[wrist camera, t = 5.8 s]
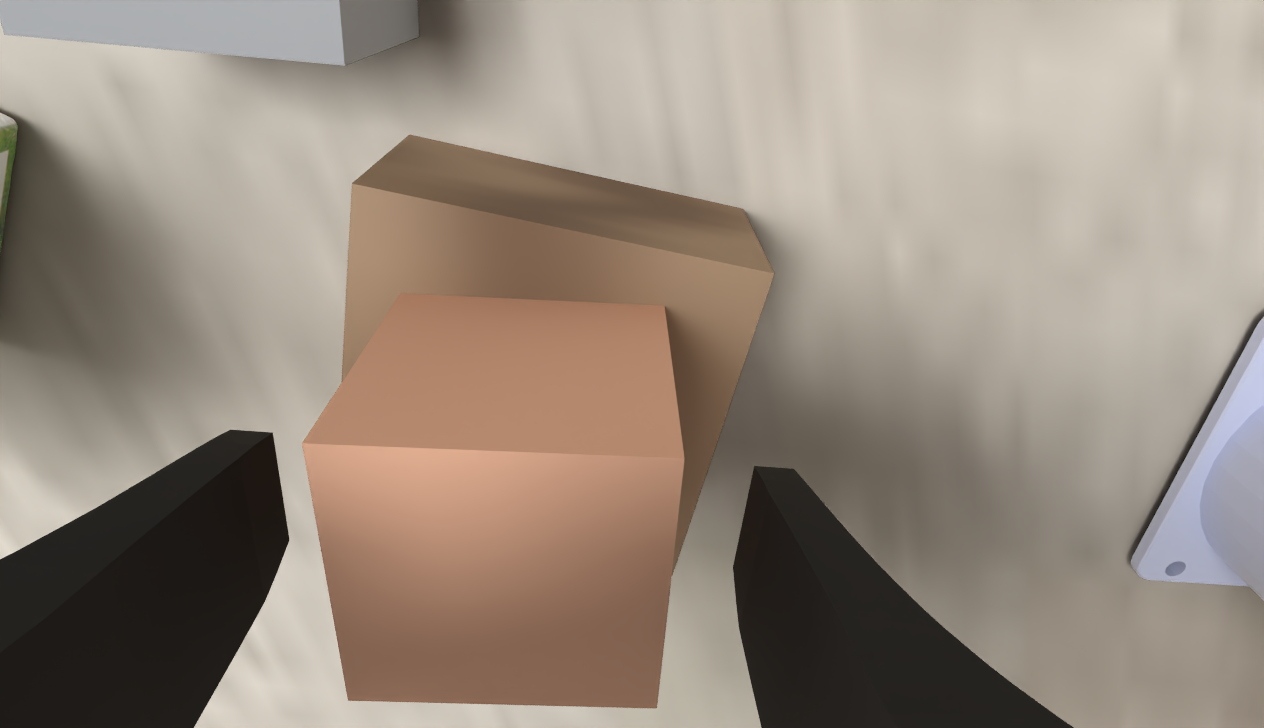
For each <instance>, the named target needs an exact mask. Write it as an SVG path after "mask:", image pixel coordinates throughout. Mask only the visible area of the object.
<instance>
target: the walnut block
mask: <svg viewBox="0 0 1264 728" xmlns="http://www.w3.org/2000/svg"><path fill="white" fill-rule="evenodd" d="M773 276H774V272H773V270H772V268H771V266H770V263H769V261H768V259H767V257H766V255H765V253H764V251H763V249H762V247H761V245H760V243H759V241H758V239H757V237H756V235H755V233H754V231H753V228H752V226H751V224H750V222H749V220H748V218H747V216H746V214H745V212H744V210H743V209H741V208H737V207H732V206H728V205H723V204H719V203H714V202H710V201H705V200H701V199H696V198H692V197H687V196H683V195H678V194H674V193H669V192H665V191H660V190H656V189H651V188H647V187H642V186H638V185H633V184H629V183H624V182H620V181H615V180H611V179H606V178H602V177H597V176H593V175H588V174H584V173H579V172H575V171H570V170H566V169H561V168H557V167H552V166H548V165H543V164H539V163H534V162H530V161H525V160H521V159H516V158H512V157H507V156H503V155H498V154H494V153H489V152H485V151H480V150H476V149H472V148H467V147H463V146H458V145H454V144H449V143H445V142H440V141H436V140H431V139H427V138H422V137H418V136H413V135H409V136H407V137H406V138H405V139H404V140H403V141H402V142H400V143H399V144H398V145H397V146H396V147H394V148H393V149H392V150H391V151H390V152H389V153H387V154H386V155H385V156H384V157H383V158H381V159H380V160H379V161H378V162H377V163H376V164H374V165H373V166H372V167H371V168H370V169H369V170H367V171H366V172H365V173H364V174H363V175H361V176H360V177H359V178H358V179H357V180H356V181H354V182H353V183H352V193H351V212H350V231H349V250H348V269H347V288H346V307H345V327H344V346H343V365H342V382H343V380H344V379H345V377H346V376H347V374H348V373H349V371H350V369H351V368H352V366H353V365H354V363H355V362H356V360H357V359H358V357H359V356H360V354H361V353H362V351H363V350H364V348H365V347H366V345H367V343H368V342H369V340H370V339H371V337H372V336H373V334H374V333H375V331H376V330H377V328H378V327H379V325H380V324H381V322H382V321H383V319H384V317H385V316H386V314H387V313H388V311H389V310H390V308H391V307H392V305H393V304H394V302H395V301H396V299H397V298H398V296H399V295H400V293H405V294H426V295H447V296H468V297H489V298H511V299H532V300H553V301H574V302H595V303H616V304H637V305H658V306H665V313H666V321H667V328H668V336H669V344H670V351H671V359H672V366H673V374H674V382H675V389H676V397H677V405H678V412H679V420H680V427H681V435H682V443H683V450H684V458H685V459H684V468H683V477H682V486H681V495H680V504H679V513H678V522H677V531H676V540H675V549H674V558H673V567H672V575H673V572H674V569H675V566H676V563H677V560H678V557H679V554H680V551H681V548H682V545H683V542H684V539H685V536H686V533H687V530H688V527H689V524H690V522H691V519H692V516H693V513H694V510H695V507H696V504H697V501H698V498H699V495H700V492H701V489H702V486H703V483H704V480H705V477H706V474H707V471H708V468H709V465H710V462H711V460H712V457H713V454H714V451H715V448H716V445H717V442H718V439H719V436H720V433H721V430H722V427H723V424H724V421H725V418H726V415H727V412H728V409H729V406H730V403H731V400H732V398H733V395H734V392H735V389H736V386H737V383H738V380H739V377H740V374H741V371H742V368H743V365H744V362H745V359H746V356H747V353H748V350H749V347H750V344H751V341H752V338H753V336H754V333H755V330H756V327H757V324H758V321H759V318H760V315H761V312H762V309H763V306H764V303H765V300H766V297H767V294H768V291H769V288H770V285H771V282H772V279H773Z"/></svg>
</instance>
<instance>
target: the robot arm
mask: <svg viewBox="0 0 1264 728" xmlns="http://www.w3.org/2000/svg"><path fill="white" fill-rule="evenodd" d="M288 542H289V535H288V528H287V522H286V515H285V509H284V503H283V496H282V490H281V483H280V477H279V471H278V464H277V458H276V451H275V445H274V438H273V433H269V432H254V431H240V430H229V431H227V432H225V433H223V434H221V435H219V436H217V437H216V438H214V439H212V440H210V441H208V442H207V443H205V444H203V445H202V446H200V447H198V448H196V449H195V450H193V451H191V452H190V453H188V454H186V455H185V456H183V457H181V458H180V459H178V460H176V461H175V462H173V463H171V464H170V465H168V466H166V467H165V468H163V469H161V470H160V471H158V472H156V473H155V474H153V475H151V476H150V477H148V478H146V479H144V480H143V481H141V482H139V483H138V484H136V485H134V486H133V487H131V488H129V489H128V490H126V491H124V492H122V493H121V494H119V495H117V496H116V497H114V498H112V499H111V500H109V501H107V502H106V503H104V504H102V505H100V506H99V507H97V508H95V509H93V510H92V511H90V512H88V513H86V514H84V515H82V516H81V517H79V518H77V519H75V520H73V521H71V522H70V523H68V524H66V525H64V526H62V527H60V528H59V529H57V530H55V531H53V532H51V533H49V534H47V535H46V536H44V537H42V538H40V539H38V540H36V541H35V542H33V543H31V544H29V545H27V546H25V547H24V548H22V549H20V550H18V551H16V552H14V553H12V554H10V555H8V556H6V557H4V558H2V559H0V728H194V726H195V724H196V723H197V721H198V719H199V717H200V716H201V714H202V712H203V710H204V709H205V707H206V705H207V703H208V702H209V700H210V698H211V696H212V695H213V693H214V691H215V689H216V688H217V686H218V684H219V682H220V681H221V679H222V677H223V675H224V673H225V672H226V670H227V668H228V666H229V665H230V663H231V661H232V659H233V658H234V656H235V654H236V652H237V651H238V649H239V647H240V645H241V644H242V642H243V640H244V638H245V636H246V635H247V633H248V631H249V629H250V627H251V626H252V624H253V622H254V620H255V618H256V617H257V615H258V613H259V611H260V609H261V607H262V606H263V604H264V602H265V600H266V597H267V595H268V593H269V590H270V588H271V585H272V583H273V581H274V578H275V576H276V573H277V571H278V568H279V566H280V563H281V560H282V558H283V555H284V552H285V550H286V547H287V545H288ZM1131 566H1132V568H1133V569H1134V571H1135V572H1136V573H1137V574H1138V575H1139V576H1140V577H1141V578H1142V579H1146V580H1153V581H1169V582H1185V583H1201V584H1217V585H1233V586H1249V587H1250V588H1251V589H1252V590H1253V591H1254V592H1255V593H1256V594H1257V595H1258V596H1259V597H1260V598H1261V599H1262V600H1263V601H1264V317H1263V318H1262V319H1261V320H1260V322H1259V323H1258V325H1257V326H1256V328H1255V330H1254V332H1253V334H1252V336H1251V338H1250V339H1249V341H1248V343H1247V345H1246V347H1245V349H1244V351H1243V352H1242V354H1241V356H1240V358H1239V360H1238V362H1237V364H1236V365H1235V367H1234V369H1233V371H1232V373H1231V375H1230V377H1229V378H1228V380H1227V382H1226V384H1225V386H1224V388H1223V389H1222V391H1221V393H1220V395H1219V397H1218V399H1217V401H1216V402H1215V404H1214V406H1213V408H1212V410H1211V412H1210V414H1209V415H1208V417H1207V419H1206V421H1205V423H1204V425H1203V427H1202V428H1201V430H1200V432H1199V434H1198V436H1197V438H1196V440H1195V441H1194V443H1193V445H1192V447H1191V449H1190V451H1189V453H1188V454H1187V456H1186V458H1185V460H1184V462H1183V464H1182V466H1181V467H1180V469H1179V471H1178V473H1177V475H1176V477H1175V479H1174V480H1173V482H1172V484H1171V486H1170V488H1169V490H1168V492H1167V493H1166V495H1165V497H1164V499H1163V501H1162V503H1161V504H1160V506H1159V508H1158V510H1157V512H1156V514H1155V516H1154V517H1153V519H1152V521H1151V523H1150V525H1149V527H1148V529H1147V530H1146V532H1145V534H1144V536H1143V538H1142V540H1141V542H1140V543H1139V545H1138V547H1137V549H1136V551H1135V553H1134V555H1133V556H1132V559H1131ZM733 571H734V582H735V593H736V604H737V613H738V622H739V629H740V634H741V639H742V643H743V648H744V652H745V657H746V661H747V666H748V670H749V675H750V679H751V684H752V688H753V692H754V697H755V701H756V705H757V710H758V714H759V718H760V723H761V727H762V728H1073V727H1072V726H1070V725H1069V724H1067V723H1066V722H1065V721H1063V720H1062V719H1060V718H1059V717H1057V716H1056V715H1055V714H1053V713H1052V712H1050V711H1049V710H1048V709H1046V708H1045V707H1044V706H1042V705H1041V704H1039V703H1038V702H1037V701H1035V700H1034V699H1033V698H1031V697H1030V696H1028V695H1027V694H1026V693H1024V692H1023V691H1022V690H1020V689H1019V688H1018V687H1016V686H1015V685H1013V684H1012V683H1011V682H1009V681H1008V680H1007V679H1006V678H1004V677H1003V676H1002V675H1000V674H999V673H998V672H997V671H995V670H994V669H993V668H991V667H990V666H989V665H988V664H986V663H985V662H984V661H983V660H982V659H980V658H979V657H978V656H977V655H976V654H974V653H973V652H972V651H971V650H970V649H968V648H967V647H966V646H965V645H964V644H962V643H961V642H960V641H959V640H958V639H957V638H955V637H954V636H953V635H952V634H951V633H949V632H948V631H947V630H946V629H945V628H944V627H942V626H941V625H940V624H939V623H938V622H937V621H936V620H935V619H934V618H932V617H931V616H930V615H929V614H928V613H927V612H926V611H925V610H924V609H923V608H922V607H921V606H920V605H919V604H918V603H917V602H916V601H914V600H913V599H912V598H911V597H910V596H909V595H908V594H907V593H906V592H905V591H904V590H903V589H902V588H901V587H900V586H899V585H898V584H897V583H896V582H895V581H894V580H893V579H892V578H891V577H890V576H889V575H888V574H887V573H886V572H885V571H884V570H883V569H882V568H881V567H880V566H879V565H878V564H877V563H876V562H875V560H874V559H873V558H872V557H871V556H870V555H869V554H868V553H867V552H866V551H865V550H864V549H863V548H862V547H861V545H860V544H859V543H858V542H857V541H856V540H855V539H854V538H853V537H852V535H851V534H850V533H849V532H848V531H847V530H846V529H845V528H844V527H843V525H842V524H841V523H840V522H839V521H838V520H837V518H836V517H835V516H834V515H833V514H832V513H831V512H830V510H829V509H828V508H827V507H826V506H825V505H824V503H823V502H822V501H821V500H820V499H819V498H818V496H817V495H816V494H815V493H814V492H813V491H812V489H811V488H810V487H809V486H808V485H807V483H806V482H805V481H804V480H803V479H802V478H801V477H800V475H799V474H798V473H797V472H796V471H795V470H794V469H788V468H774V467H759V466H754V470H753V475H752V480H751V485H750V489H749V494H748V499H747V504H746V508H745V513H744V518H743V523H742V527H741V532H740V537H739V542H738V546H737V551H736V556H735V561H734V565H733Z"/></svg>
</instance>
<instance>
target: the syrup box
mask: <svg viewBox="0 0 1264 728" xmlns="http://www.w3.org/2000/svg"><path fill="white" fill-rule="evenodd" d="M17 129H18V126H17V124H16V122H15V121H14V120H13V119H12V118H10V117H8V116H6V115H4V114H2V113H0V254H1V246H2V239H3V231H4V224H5V217H6V209H7V202H8V196H9V189H10V182H11V175H12V167H13V162H14V158H15V148H16V143H17Z"/></svg>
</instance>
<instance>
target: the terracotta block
mask: <svg viewBox="0 0 1264 728" xmlns="http://www.w3.org/2000/svg"><path fill="white" fill-rule="evenodd" d="M302 445H303V451H304V457H305V462H306V468H307V473H308V479H309V485H310V490H311V496H312V501H313V507H314V513H315V518H316V524H317V529H318V535H319V540H320V546H321V552H322V557H323V563H324V568H325V574H326V580H327V585H328V591H329V596H330V602H331V608H332V613H333V619H334V624H335V630H336V636H337V641H338V647H339V652H340V658H341V663H342V669H343V675H344V680H345V686H346V691H347V697H348V700H349V701H389V702H428V703H467V704H507V705H546V706H585V707H625V708H657V702H658V693H659V684H660V675H661V666H662V657H663V648H664V639H665V630H666V621H667V612H668V603H669V594H670V585H671V576H672V567H673V558H674V549H675V540H676V531H677V522H678V513H679V504H680V495H681V486H682V477H683V468H684V459H685V458H684V450H683V443H682V435H681V427H680V420H679V412H678V405H677V397H676V389H675V382H674V374H673V366H672V359H671V351H670V344H669V336H668V328H667V321H666V313H665V306H658V305H637V304H616V303H595V302H574V301H553V300H532V299H511V298H489V297H468V296H447V295H426V294H405V293H400V295H399V296H398V298H397V299H396V301H395V302H394V304H393V305H392V307H391V308H390V310H389V311H388V313H387V314H386V316H385V317H384V319H383V321H382V322H381V324H380V325H379V327H378V328H377V330H376V331H375V333H374V334H373V336H372V337H371V339H370V340H369V342H368V343H367V345H366V347H365V348H364V350H363V351H362V353H361V354H360V356H359V357H358V359H357V360H356V362H355V363H354V365H353V366H352V368H351V369H350V371H349V373H348V374H347V376H346V377H345V379H344V380H343V382H342V383H341V385H340V386H339V388H338V389H337V391H336V392H335V394H334V396H333V397H332V399H331V400H330V402H329V403H328V405H327V406H326V408H325V409H324V411H323V412H322V414H321V415H320V417H319V418H318V420H317V422H316V423H315V425H314V426H313V428H312V429H311V431H310V432H309V434H308V435H307V437H306V438H305V440H304V441H303V443H302Z"/></svg>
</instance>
